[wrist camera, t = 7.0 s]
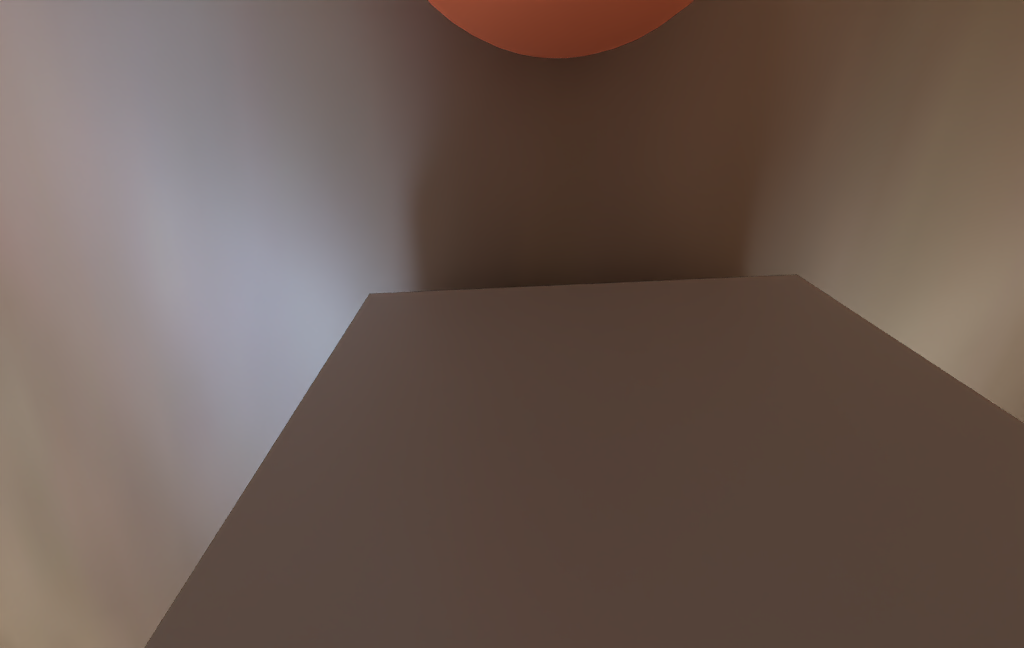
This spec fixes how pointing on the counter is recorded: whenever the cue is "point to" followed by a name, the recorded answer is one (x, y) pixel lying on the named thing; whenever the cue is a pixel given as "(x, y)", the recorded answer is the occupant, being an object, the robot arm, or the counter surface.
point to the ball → (559, 23)
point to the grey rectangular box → (622, 483)
